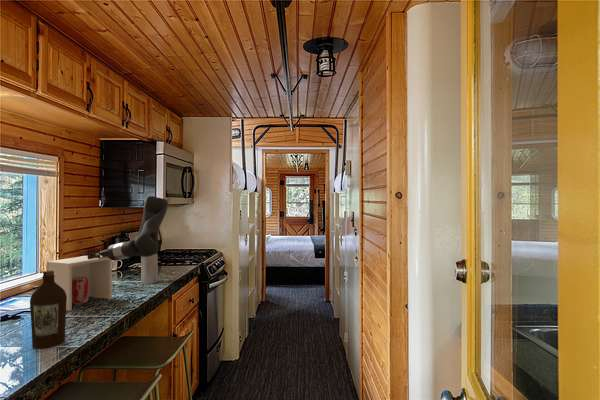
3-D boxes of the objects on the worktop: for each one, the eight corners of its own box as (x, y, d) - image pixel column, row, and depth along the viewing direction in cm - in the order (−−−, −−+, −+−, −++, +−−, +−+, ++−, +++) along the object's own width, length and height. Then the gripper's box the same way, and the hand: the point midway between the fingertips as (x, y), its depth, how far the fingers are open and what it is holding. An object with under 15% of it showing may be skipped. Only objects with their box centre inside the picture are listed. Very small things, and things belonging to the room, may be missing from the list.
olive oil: (34, 340, 132) (34, 270, 132) (69, 335, 136) (68, 267, 136) (26, 351, 122) (25, 275, 122) (63, 346, 126) (63, 272, 126)
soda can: (92, 301, 183) (91, 276, 183) (79, 305, 176) (79, 279, 176) (80, 300, 185) (80, 276, 185) (68, 304, 178) (68, 279, 178)
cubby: (47, 307, 173) (46, 261, 173) (90, 295, 194) (90, 254, 194) (69, 310, 167) (68, 263, 167) (111, 298, 188) (111, 256, 188)
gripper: (132, 242, 177) (109, 248, 184) (105, 243, 164) (81, 249, 171) (134, 258, 176) (110, 263, 182) (107, 260, 163) (83, 265, 170)
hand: (96, 256), depth 177 cm, fingers open, 8 cm apart
